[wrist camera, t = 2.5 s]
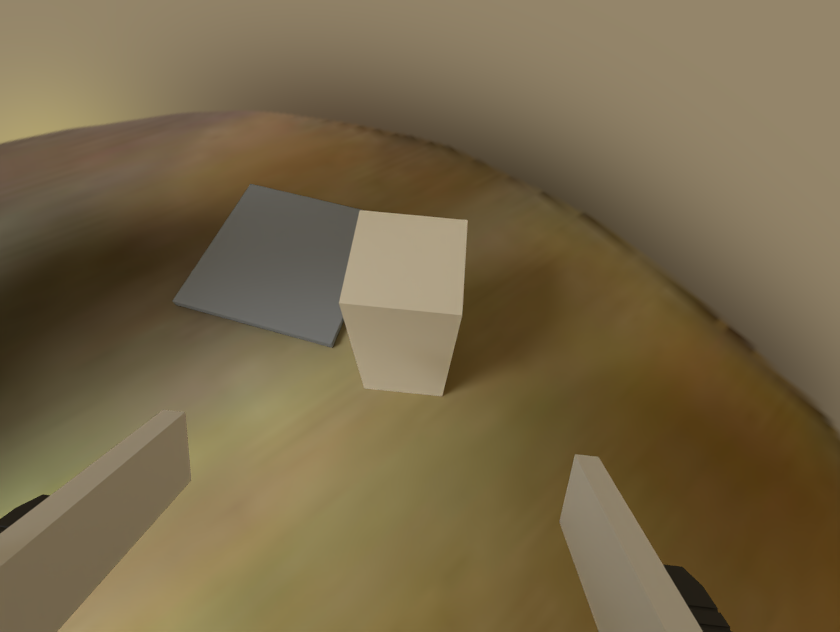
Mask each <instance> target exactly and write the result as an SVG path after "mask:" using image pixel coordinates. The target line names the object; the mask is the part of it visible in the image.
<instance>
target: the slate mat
mask: <svg viewBox="0 0 840 632" xmlns="http://www.w3.org/2000/svg"><path fill="white" fill-rule="evenodd" d="M360 210H361V209H356V208H352V207H348V206H344V205H339V204H335V203H331V202H326V201H322V200H318V199H314V198H309V197H305V196H301V195H296V194H292V193H288V192H284V191H279V190H275V189H271V188H266V187H262V186H258V185H254V184H250V186H249V187H248V189H247V190H246V191H245V193H244V194H243V196H242V197H241V199H240V200H239V202H238V203H237V205H236V206H235V208H234V209H233V211H232V212H231V214H230V215H229V217H228V218H227V220H226V221H225V223H224V224H223V226H222V227H221V229H220V230H219V232H218V233H217V235H216V236H215V238H214V239H213V241H212V242H211V244H210V245H209V247H208V248H207V250H206V251H205V253H204V254H203V256H202V257H201V259H200V260H199V262H198V263H197V265H196V266H195V268H194V269H193V271H192V272H191V274H190V275H189V277H188V278H187V280H186V281H185V283H184V284H183V286H182V287H181V289H180V290H179V292H178V293H177V295H176V296H175V298H174V299H173V302H174V303H175V304H176V305H179V306H182V307H186V308H190V309H193V310H197V311H201V312H204V313H208V314H211V315H215V316H219V317H222V318H226V319H230V320H233V321H237V322H241V323H244V324H248V325H252V326H255V327H259V328H263V329H266V330H270V331H274V332H277V333H281V334H285V335H288V336H292V337H295V338H299V339H303V340H306V341H310V342H314V343H317V344H321V345H325V346H328V347H332V348H333V345H334V343H335V340H336V338H337V336H338V333H339V331H340V329H341V326H342V324H343V321H344V319H343V315H342V312H341V309H340V305H339V300H340V296H341V291H342V287H343V282H344V278H345V273H346V269H347V264H348V260H349V256H350V251H351V247H352V242H353V238H354V233H355V229H356V224H357V220H358V216H359V211H360ZM364 211H365V210H364Z"/></svg>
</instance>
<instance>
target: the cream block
mask: <svg viewBox="0 0 840 632" xmlns="http://www.w3.org/2000/svg"><path fill="white" fill-rule="evenodd" d="M467 222H468V220H460V219H449V218H439V217H428V216H417V215H407V214H396V213H385V212H374V211H364V210H360V211H359V216H358V220H357V224H356V229H355V233H354V238H353V242H352V247H351V251H350V256H349V260H348V264H347V269H346V273H345V278H344V282H343V287H342V291H341V296H340V300H339V305H340V309H341V312H342V315H343V319H344V322H345V325H346V329H347V332H348V335H349V339H350V342H351V345H352V349H353V352H354V355H355V359H356V362H357V365H358V369H359V372H360V375H361V379H362V382H363V385H364V388H367V389H377V390H386V391H396V392H405V393H415V394H425V395H434V396H442V395H443V391H444V387H445V383H446V379H447V375H448V371H449V367H450V363H451V359H452V355H453V351H454V347H455V343H456V339H457V335H458V330H459V326H460V322H461V318H462V311H463V293H464V275H465V257H466V239H467Z"/></svg>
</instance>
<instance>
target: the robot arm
mask: <svg viewBox="0 0 840 632" xmlns="http://www.w3.org/2000/svg"><path fill="white" fill-rule="evenodd" d="M190 481H191V472H190V460H189V449H188V437H187V426H186V414H185V412H181V411H171V410H162V411H161V412H159V413H158V414H157V415H155V416H154V417H153V418H151V419H150V420H149V421H148V422H146V423H145V424H144V425H142V426H141V427H140V428H138V429H137V430H136V431H134V432H133V433H132V434H130V435H129V436H128V437H127V438H125V439H124V440H123V441H121V442H120V443H119V444H117V445H116V446H115V447H113V448H112V449H111V450H109V451H108V452H107V453H106V454H104V455H103V456H102V457H100V458H99V459H98V460H96V461H95V462H94V463H92V464H91V465H90V466H88V467H87V468H86V469H84V470H83V471H82V472H81V473H79V474H78V475H77V476H75V477H74V478H73V479H71V480H70V481H69V482H67V483H66V484H65V485H63V486H62V487H61V488H60V489H58V490H57V491H56V492H54V493H53V494H52V495H41V496H39V497H37V498H35V499H33V500H31V501H29V502H27V503H25V504H23V505H21V506H19V507H17V508H15V509H14V510H12V511H11V512H9V513H8V514H7V515H5V516H4V517H3V518H1V519H0V632H57V631H58V630H59V629H60V628H61V627H62V625H63V624H64V623H65V622H66V621H67V620H68V619H69V618H70V616H71V615H72V614H73V613H74V612H75V611H76V610H77V609H78V607H79V606H80V605H81V604H82V603H83V602H84V601H85V599H86V598H87V597H88V596H89V595H90V594H91V593H92V592H93V590H94V589H95V588H96V587H97V586H98V585H99V584H100V583H101V581H102V580H103V579H104V578H105V577H106V576H107V575H108V574H109V572H110V571H111V570H112V569H113V568H114V567H115V566H116V565H117V563H118V562H119V561H120V560H121V559H122V558H123V557H124V556H125V554H126V553H127V552H128V551H129V550H130V549H131V548H132V547H133V545H134V544H135V543H136V542H137V541H138V540H139V539H140V538H141V536H142V535H143V534H144V533H145V532H146V531H147V530H148V528H149V527H150V526H151V525H152V524H153V523H154V522H155V521H156V519H157V518H158V517H159V516H160V515H161V514H162V513H163V512H164V510H165V509H166V508H167V507H168V506H169V505H170V504H171V503H172V501H173V500H174V499H175V498H176V497H177V496H178V495H179V494H180V492H181V491H182V490H183V489H184V488H185V487H186V486H187V485H188V483H189V482H190ZM559 522H560V525H561V528H562V531H563V533H564V536H565V539H566V542H567V544H568V547H569V550H570V553H571V556H572V558H573V561H574V564H575V567H576V570H577V572H578V575H579V578H580V581H581V584H582V586H583V589H584V592H585V595H586V597H587V600H588V603H589V606H590V609H591V611H592V614H593V617H594V620H595V623H596V625H597V628H598V631H599V632H731V631H730V626H729V625H728V623H727V622H726V620H725V619H724V617H723V616H722V614H721V613H718V610H717V609H718V608H717V607H716V605H715V604H714V602H713V601H712V599H711V598H710V596H709V595H708V593H707V592H706V590H705V589H704V587H703V586H702V585H701V584H700V583H699V582H698V581H697V580H695V579H694V578H693V577H692V576H691V575H690V574H689V573H688V572H687V571H686V570H685V569H684V568H683V567H679V566H670V565H663V564H662V562H661V561H660V559H659V557H658V556H657V554H656V552H655V551H654V549H653V547H652V546H651V544H650V542H649V541H648V539H647V537H646V536H645V534H644V532H643V531H642V529H641V527H640V526H639V524H638V522H637V521H636V519H635V517H634V516H633V514H632V512H631V511H630V509H629V507H628V506H627V504H626V502H625V501H624V499H623V497H622V496H621V494H620V492H619V490H618V489H617V487H616V485H615V484H614V482H613V480H612V479H611V477H610V475H609V474H608V472H607V470H606V469H605V467H604V465H603V464H602V462H601V460H600V459H599V457H596V456H587V455H577V454H575V456H574V461H573V465H572V469H571V474H570V478H569V482H568V487H567V491H566V495H565V500H564V504H563V508H562V513H561V517H560V521H559Z"/></svg>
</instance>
